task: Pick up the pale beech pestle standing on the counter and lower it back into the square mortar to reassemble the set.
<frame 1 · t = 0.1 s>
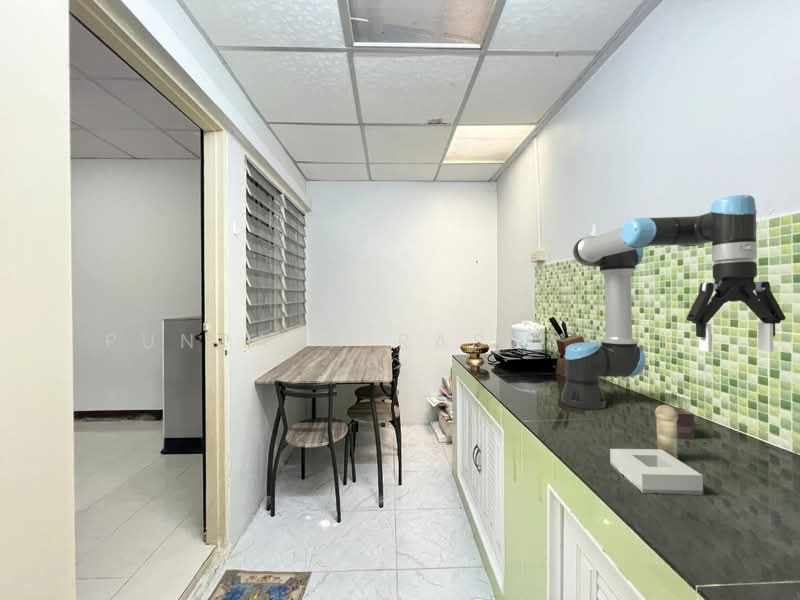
hand: (735, 351, 80), 28 cm above the countertop, fingers open, 13 cm apart
mortar: (652, 478, 76), on the countertop
pestle: (667, 458, 85), on the countertop
box: (676, 435, 100), on the countertop
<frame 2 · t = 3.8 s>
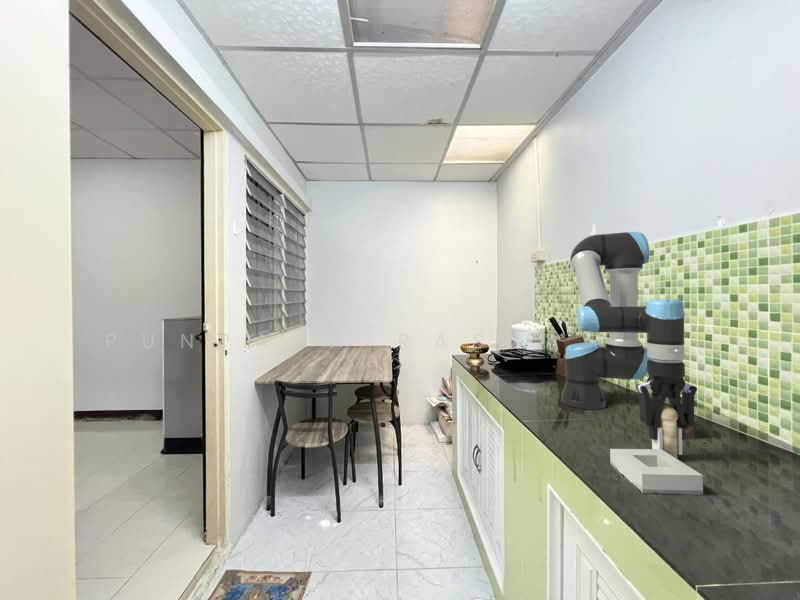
hand: (667, 451, 85), 2 cm above the countertop, fingers closed on pestle, 4 cm apart
pestle: (667, 458, 85), on the countertop, touching gripper
everything else where it was.
when the fingers open (6 cm above the countertop, at t = 8.2 s): pestle drops 2 cm, resting on mortar.
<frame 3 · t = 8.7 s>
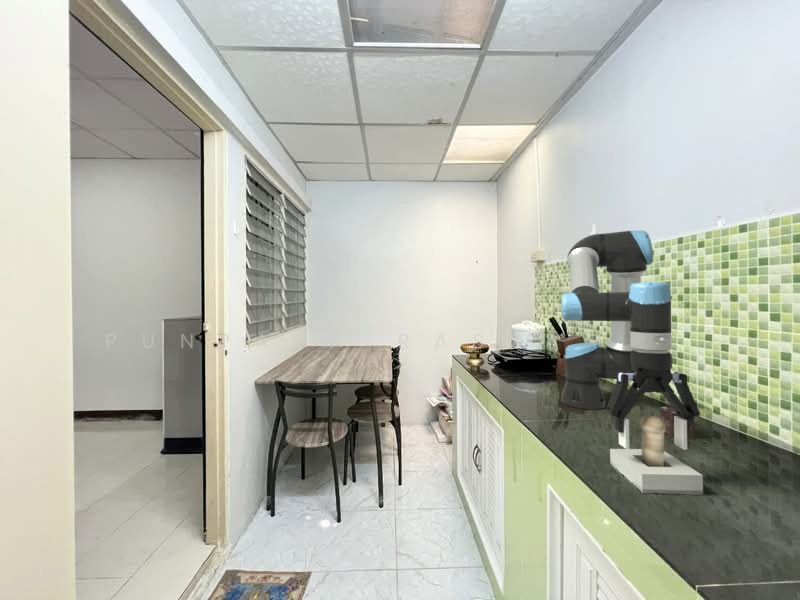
hand: (652, 446, 76), 7 cm above the countertop, fingers open, 11 cm apart
pestle: (652, 474, 76), point 1 cm above the countertop, touching mortar
everything else where it was.
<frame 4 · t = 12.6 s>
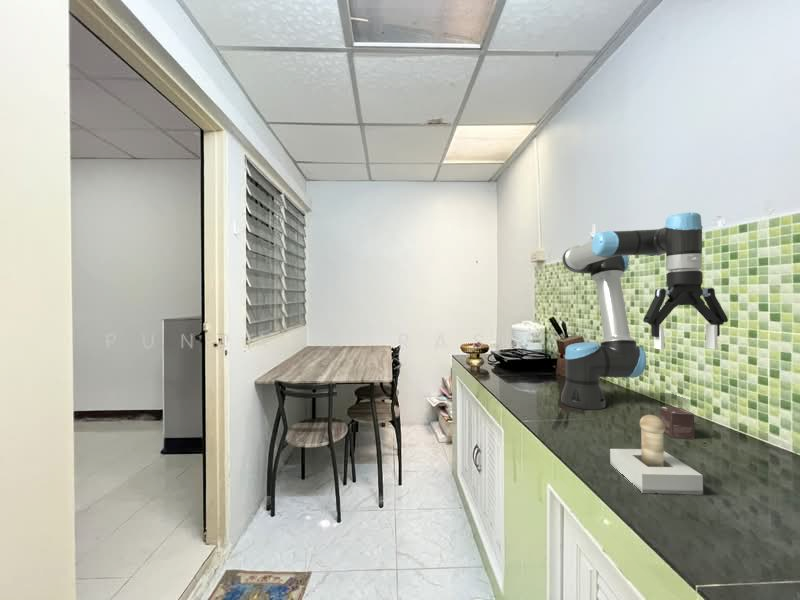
hand: (685, 349, 91), 27 cm above the countertop, fingers open, 13 cm apart
nothing on the countertop moved.
at the end: pestle 0.0 cm off-centre on the mortar, point 0.8 cm above the mortar's base; the gripper is holding nothing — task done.
